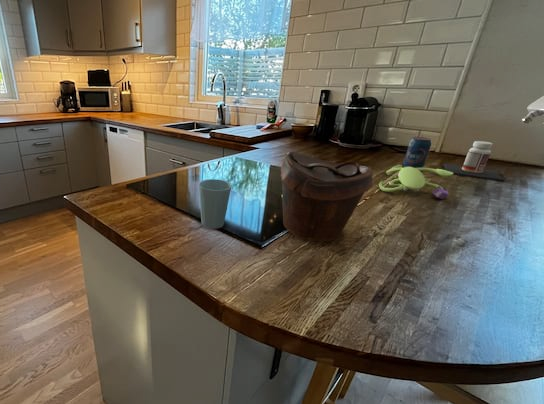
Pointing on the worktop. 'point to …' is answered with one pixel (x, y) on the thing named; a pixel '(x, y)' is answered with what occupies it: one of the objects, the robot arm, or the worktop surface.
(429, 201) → the worktop surface
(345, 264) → the worktop surface
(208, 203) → the cup
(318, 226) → the brown tapered round container
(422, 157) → the soda can
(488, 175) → the mat
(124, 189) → the worktop surface
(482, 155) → the pill bottle
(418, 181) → the green soft sprawling figure
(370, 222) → the worktop surface
